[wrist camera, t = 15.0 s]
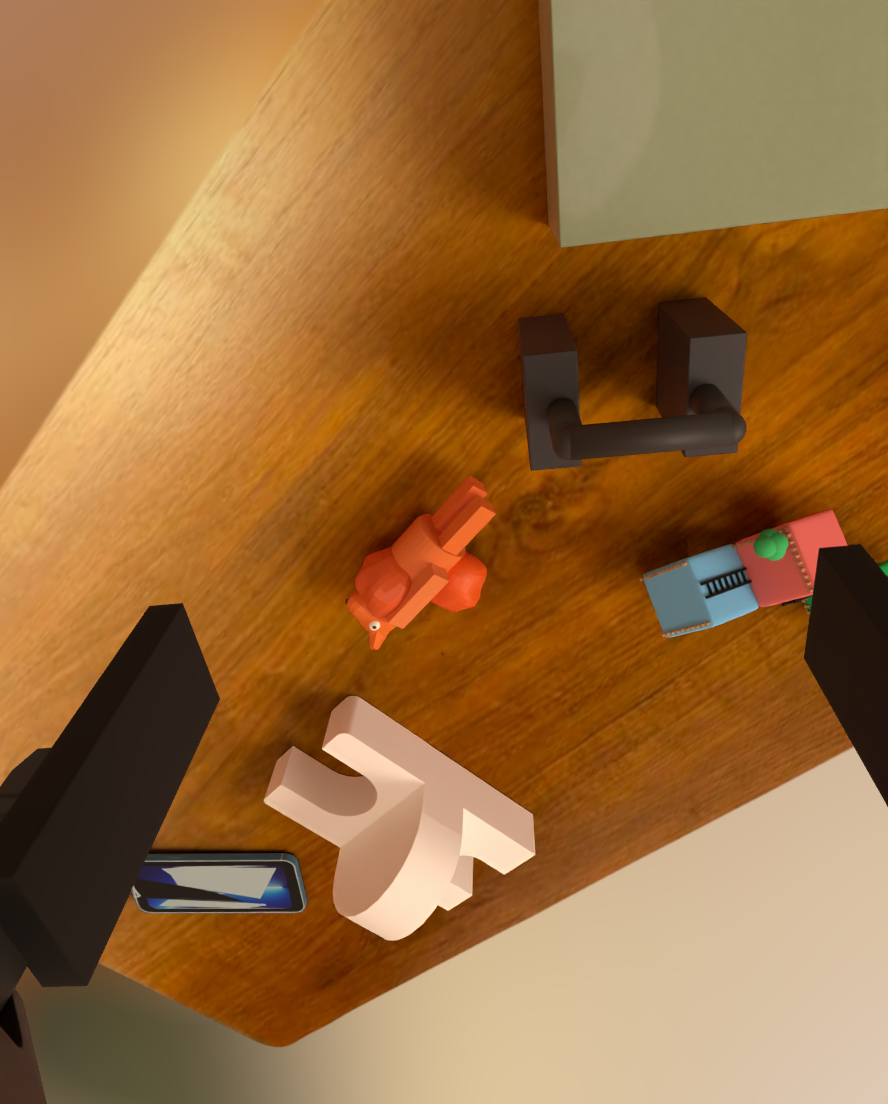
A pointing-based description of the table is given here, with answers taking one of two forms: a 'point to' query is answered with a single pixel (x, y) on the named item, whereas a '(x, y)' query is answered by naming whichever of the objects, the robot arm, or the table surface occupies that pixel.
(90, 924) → the robot arm
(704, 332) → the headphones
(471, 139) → the table surface
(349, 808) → the white thick notched block
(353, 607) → the orange toy bird
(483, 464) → the table surface
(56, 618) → the table surface
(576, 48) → the shelf
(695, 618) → the building blocks
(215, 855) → the smartphone
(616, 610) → the table surface
